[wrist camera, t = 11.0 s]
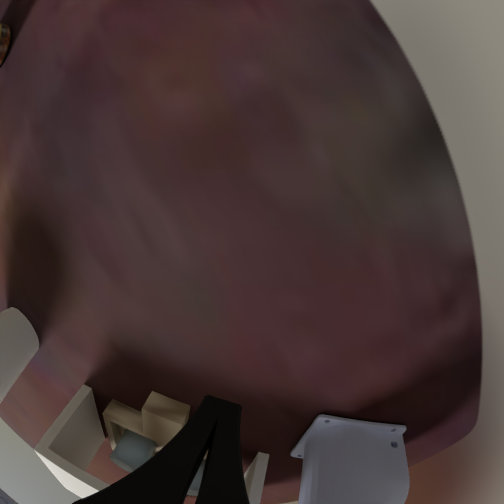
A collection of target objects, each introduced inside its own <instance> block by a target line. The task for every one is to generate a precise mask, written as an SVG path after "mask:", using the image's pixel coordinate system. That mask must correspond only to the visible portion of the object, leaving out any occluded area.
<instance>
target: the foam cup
mask: <svg viewBox="0 0 504 504" xmlns="http://www.w3.org/2000/svg"><path fill="white" fill-rule="evenodd" d="M38 349H39V340H38V337H37V334H36V332H35V330H34V328H33V326H32V325H31V323H30V322H29V321H28V319H27V318H26V317H25V315H24V314H22V313H21V312H20V311H19V310H18V309H16V308H14V307H11V308H9V309H6V310H4V311H2V312H0V403H1V402H2V400H3V399H4V397H5V396H6V394H7V393H8V391H9V390H10V388H11V387H12V385H13V384H14V382H15V381H16V380H17V378H18V377H19V375H20V374H21V372H22V371H23V370H24V368H25V367H26V366H27V364H28V363H29V361H30V360H31V359H32V357H33V356H34V355H35V353H36V351H37V350H38Z"/></svg>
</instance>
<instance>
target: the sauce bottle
mask: <svg viewBox="0 0 504 504" xmlns="http://www.w3.org/2000/svg"><path fill="white" fill-rule="evenodd" d="M10 36H11V35H10V28H9V26H8V25H6V24H1V23H0V65H1V64H2V62H3V60H4V58H5V55H6V53H7V50H8V47H9V44H10V40H11V38H10Z"/></svg>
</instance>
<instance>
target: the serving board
mask: <svg viewBox="0 0 504 504" xmlns="http://www.w3.org/2000/svg"><path fill="white" fill-rule="evenodd" d="M189 412H190V405H188V404H185V403H182V402H179V401H177V400H174V399H171V398H169V397H166V396H164V395H161V394H159V393H156V392H154V391H152V392H151V394H150V395H149V397H148V399H147V400H146V402H145V404H144V406H143V407H142V412H140V411H138V410H136V409H134V408H131V407H129V406H127V405H125V404H123V403H121V402H119V401H117V400H115V399H112V400H111V402H110V403H109V405H108V406H107V407H106V409H105V410H104V412H103V413H102V414H103V418H104V422H105V425H106V429H107V433H108V436H109V440H110V443H111V447H112V450H114V448H115V447H116V445H117V443H118V441H119V440H120V438H121V436H122V435H123V433H124V431H125V430H126V429H128V430H131V431H133V432H135V433H137V434H139V435H142V436H144V437H146V438H149V439H151V440H153V441H155V442H156V444H157V448H156V450H155V452H154V454H153V456H154V455H155V454H156V453H157V452H159V451H160V450H161V449H162V448H163V447H164V446H165V445H166V444H167V443H168V442H169V441H170V440H171V439H172V438H173V437H174V436H175V435H176V434H177V433H178V432H179V431H180V430H181V429H182V427H183V426H184V425H185V424H186V423H187V422H188V418H189ZM207 453H208V450H207ZM207 453H206V455H205V457H204V459H205V460H206V457H207ZM153 456H152V457H153Z"/></svg>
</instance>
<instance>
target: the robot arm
mask: <svg viewBox="0 0 504 504" xmlns="http://www.w3.org/2000/svg"><path fill="white" fill-rule="evenodd" d="M241 410H242V407H241V405H239V404H236V403H232V402H229V401H226V400H222V399H219V398H216V397H213V396H210V395H207V396H205V397H204V399H203V401H202V403H201V404H200V406H199V407H198V409H197V410H196V412H195V413H194V414H193V415H192V417H191V418H190V419H189V421H188V422H187V423H186V424H185V425H184V426H183V427H182V429H181V430H180V431H179V432H178V433H177V434H176V435H175V436H174V437H173V438H172V439H171V440H170V441H169V442H168V443H167V444H166V445H165V446H164V447H163V448H162V449H161V450H160V451H159V452H157V453H156V454H155V455H154V456H153V457H151V458H150V459H149V460H148V461H146V462H145V463H144V464H143V465H141V466H140V467H138V468H137V469H136V470H134V471H133V472H131V473H130V474H128V475H127V476H125V477H124V478H122V479H120V480H119V481H117V482H115V483H113V484H112V485H110V486H108V487H106V488H104V489H102V490H100V491H98V492H96V493H94V494H92V495H90V496H87V497H85V498H82V499H80V500H78V501H75V502H74V503H72V504H183V503H184V500H185V497H186V495H187V493H188V490H189V488H190V486H191V484H192V482H193V480H194V478H195V476H196V474H197V472H198V470H199V467H200V465H201V463H202V461H203V459H204V457H205V455H206V453H207V450H208V453H207V457H206V461H205V466H204V470H203V474H202V479H201V483H200V487H199V492H198V495H197V499H196V502H195V504H250V502H249V498H248V494H247V490H246V485H245V480H244V474H243V467H242V459H241V447H240V418H241ZM405 431H406V426H404V425H395V424H385V423H376V422H368V421H361V420H354V419H347V418H341V417H335V416H330V415H324V414H322V415H318V416H317V417H316V419H315V420H314V422H313V423H312V424H311V426H310V427H309V429H308V430H307V431H306V433H305V434H304V435H303V437H302V438H301V439H300V441H299V442H298V443H297V445H296V446H295V447H294V448H293V450H292V451H291V454H290V455H291V456H292V457H297V458H303V465H302V475H301V485H300V493H299V502H298V504H404V502H405V500H406V498H407V495H408V491H409V482H410V481H409V473H408V465H407V459H406V453H405V447H404V441H403V436H402V434H403V433H404V432H405ZM0 504H18V503H17V502H15V501H14V500H13V499H12V498H10V497H9V496H8V495H7V494H6V493H5V492H4V491H3V490H1V489H0Z"/></svg>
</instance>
